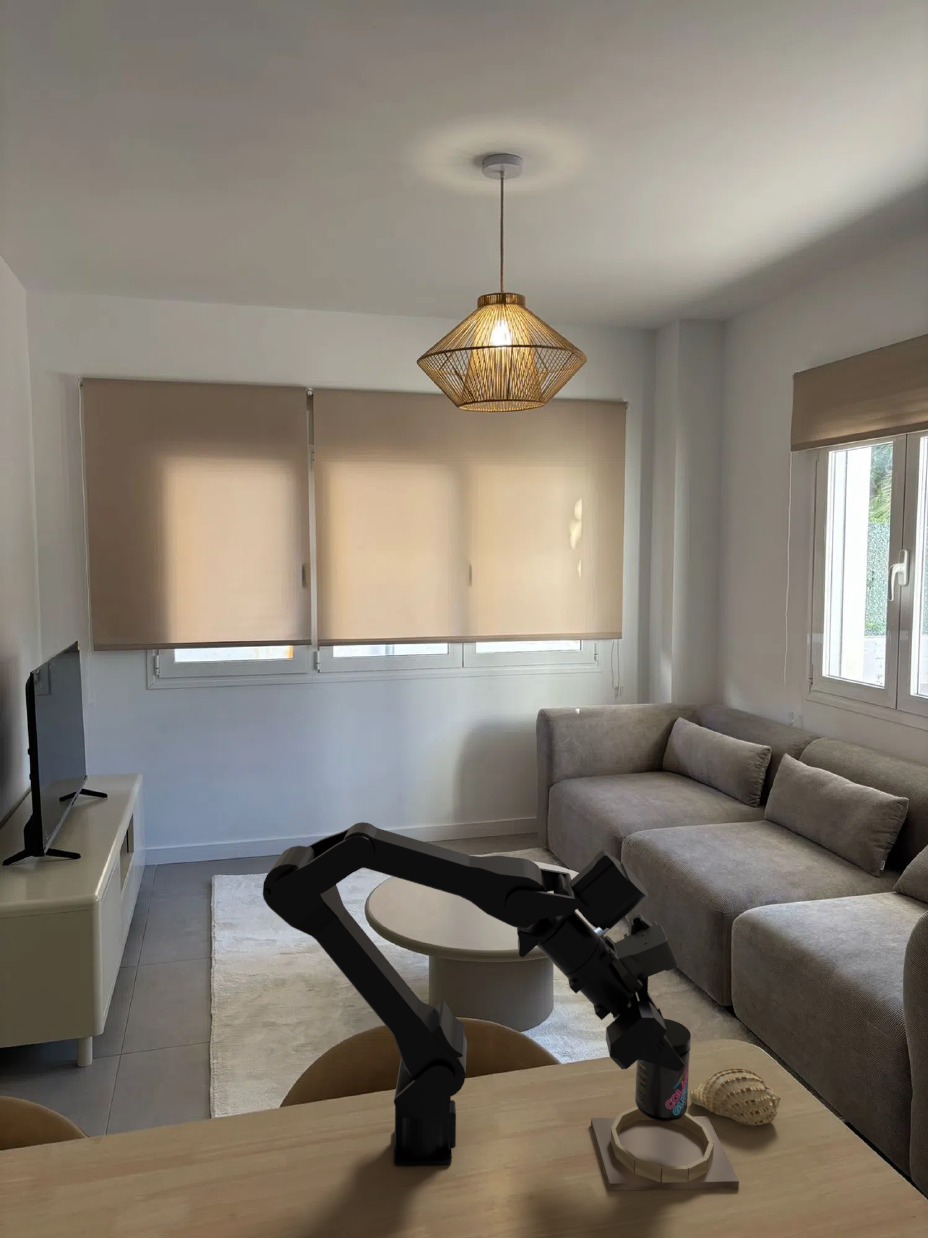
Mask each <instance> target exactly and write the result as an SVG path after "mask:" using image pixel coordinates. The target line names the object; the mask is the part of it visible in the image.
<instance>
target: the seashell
mask: <svg viewBox="0 0 928 1238" xmlns="http://www.w3.org/2000/svg"><path fill="white" fill-rule="evenodd" d="M763 1079H764V1078H762V1077H760V1076H759V1075H757V1074H756V1073H755V1072H754V1071H752V1070H751V1071H750V1070H748V1069H743V1068H729V1069H724V1070H721V1071H718V1072H716V1073H714V1074H712V1075H711V1076H710V1077H709V1078H708V1079H706V1080H705V1081H702V1083H700V1084H699V1086H698V1087H696V1088H695V1089H693V1090H690V1094H689V1095H690V1102H692V1103H693V1104H695V1105H696V1106H697V1105H698V1106H700V1107H703V1108H705V1109H707V1110H708V1111H710V1113H713V1114H716V1115H718V1116H721V1117H726V1118H728V1119H729V1118H730V1119H731V1120H732V1121H733V1120H734V1122H738V1123H740V1124H742V1125H744V1126H748V1127H749V1126H750V1127H751V1126H752V1127H755V1126H763V1125H767V1124H770V1123H772V1122H773V1121H774V1120H775V1118H776V1117H777V1116H778V1114H777V1113H778V1111H777V1110H778V1108H779V1106H780V1104H779V1103H780V1101H781V1097H779V1096H778V1095H777V1093H776V1092H774V1089H773V1088H771V1087H770V1086H768V1085H766V1083H765V1081H764V1080H763Z"/></svg>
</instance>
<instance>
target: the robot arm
mask: <svg viewBox="0 0 928 1238" xmlns="http://www.w3.org/2000/svg"><path fill="white" fill-rule="evenodd" d="M361 869H367V870H370V871H373V872H377V873H380V874H384V875H386V876H390V877H392V878H393V877H394V878H397V879H400V880H405V881H408V882H410V883H414V884H417V885H421V886H423V887H424V886H425V887H427V888H431V889H434V890H437V891H440V892H444V893H448V894H451V895H454V896H457V897H460V898H463V899H465V900H467V901H468V902H470V903H472V904H473V905H474V906H476V908H478V909H480V910H481V911H482V912H483V913H485V914H487V915H488V916H490V917H492V918H494V919H496V920H498V921H500V922H502V923H504V924H506V925H508V926H510V927H514V928H516V933H517V936H518V938H517V950H518V951H517V952H518V956H519V957H520V958H525V957H526V956H527V955H528V954H529V953H530V952H531V951H533V950H534V949H535V948H536V947H537V948H538V949H539V950H540V952H542V953H543V954H544V955H545V956H546V958H547V959H548V960H550V962H552V963H553V964H554V966H555V967H557V969H559V971H560V972H561V973H562V974H563V976H565V977H566V978H567V979H568V980H567V981H568V984H569V985H568V986H569V988H570V989H571V991H573V992H574V994H576V995H577V994H578V993H579V992H581V994H583V996H585V998H587V999H586V1000H588V1001H589V1002H590V1003H591V1004H592V1006H593V1009H594V1012H595V1013H594V1014H595V1015H596V1017H598V1018H599V1020H601V1021H603V1020H604V1019H605V1018H607V1017H608V1015H610V1014H611V1015H612V1017H613V1019H614V1020H613V1021H612V1022H610V1024H608V1025H607V1026H606V1029H605V1042H606V1046H607V1050H608V1054H609V1058H610V1059H612V1061H613V1062H614V1063H615V1064H616V1065H617V1066H618V1067H619V1068H620V1069H621V1070H628V1069H629V1068H630V1067H631V1066H632V1065H633V1064H635V1063H637V1060H642V1061H646V1062H649V1063H652V1064H655V1065H659V1066H662V1067H665V1068H668V1069H671V1070H674V1071H677V1072H678V1071H680V1070H681V1069H682V1068H683V1067H684V1066H685V1065H684V1062H683V1061H682V1059H681V1058H680V1056H679V1055H678V1053H677V1052H676V1050H675V1049H674V1048H673V1046H672V1045H671V1043H670V1042H669V1040H668V1039H667V1037H666V1036H665V1033H666V1031H667V1030H666V1027H665V1024H664V1019H665V1018H664V1015H663V1014H662V1011H661V1008H660V1007H659V1008H658V1006H657V1005H656V1003H655V1001H654V1000H653V998H652V997H651V995H650V993H649V977H651V976H655V975H656V974H659V973H661V972H664V971H667V972H668V971H671V970H673V969H675V968H676V967H677V966H678V964H679V963H678V960H677V957H676V955H675V952H674V951H673V948H672V946H671V944H670V941H669V939H668V937H667V935H666V933H665V930H664V928H663V926H662V925H661V924H658V923H657V921H654V922H652V923H651V922H650V921H649V920H648V919H647V918H646V917H644V916H643V915H642V914H637V915H635V916H632V917H629V919H628V931H627V933H624V934H623V938H622V939H620V940H619V941H616V942H615V941H614V940H612V938H611V937H610V936H608V935H606V936H605V935H604V934H603V933H602V934H601V935H600V936H599V934H598V933H597V932H596V931H595V930H594V929H593V928H595V929H598V928H599V929H600V930H601V931H605V930H607V929H608V930H611V929H613V928H614V927H615V926H616V925H617V924H619V922H621V920H623V919H624V918H625V917H626V916H627V915H629V913H631V912H632V911H633V910H634V909H635V908H636V907H637V906H638V905H639V904H640V903H642V902H643V901H644V900H646V898H648V896H649V894H648V891H647V890H646V888H645V887H644V885H643V884H642V883H641V881H640V880H639V878H638V877H637V876H636V875H635V874H634V873H633V871H632V870H631V869H630V868H629V867H628V866H627V865H626V864H625V863H624V862H623V861H622V862H621V861H620V860H618V859H617V858H616V857H614V856H613V855H610V853H609V852H608V851H607V850H606V849H601V850H600V851H599V852H598V853H596V855H595V856H593V859H592V860H590V863H588V864H587V865H586V866H585V867H584V868H583V869H582V870H581V871H580V872H578V873H577V874H576V875H575V876H574V877H573V878H572V876H571V874H570V873H569V872H565V871H560V870H554V869H553V870H552V869H548V868H547V869H546V868H542V867H539V865H538V864H537V863H536V862H534V861H532V860H529V859H526V858H522V857H514V856H506V855H486V856H478V855H477V856H476V855H470V854H465V853H463V852H459V851H455V850H453V849H449V848H446V847H442V846H439V845H436V844H432V843H428V842H426V841H423V840H419V839H415V838H412V837H409V836H405V835H402V834H400V833H396V832H392V831H388V830H385V829H383V828H378V827H377V826H375V825H373V824H372V823H370V822H364V821H363V822H362V821H361V822H358V823H357V822H356V823H355V824H353V825H352V826H350V827H349V828H347V829H345V830H342V831H340V832H337V833H334V834H331V835H329V836H326V837H323V838H321V839H319V840H317V841H315V842H313V843H312V844H309V845H308V846H306V845H305V846H304V845H295V846H291V847H288V848H287V849H286V850H284V851H283V852H282V853H281V854H280V855H279V856H278V858H277V859H276V861H275V863H274V864H273V866H272V867H271V868H270V869H269V872H268V873H267V875H266V877H265V879H264V880H263V887H262V896H263V900H264V902H265V904H266V905H267V907H268V908H270V910H271V911H273V912H274V913H275V915H277V916H278V917H279V918H281V920H283V922H285V924H287V925H289V926H290V927H291V928H293V929H295V930H298V931H299V932H301V933H304V934H306V935H309V936H310V937H312V938H313V939H314V940H315V941H316V942H317V943H318V944H319V945H320V946H321V948H322V950H323V951H325V953H326V955H327V956H328V957H329V958H330V959H331V960H332V962H334V964H335V965H336V966H337V968H338V969H339V970H340V971H341V973H342V974H343V975H344V976H345V978H346V979H347V980H348V982H349V983H350V984H351V985H352V986H353V987H354V988H355V990H356V991H357V992H358V994H359V995H360V996H361V997H362V999H363V1000H365V1003H367V1004H368V1006H369V1007H370V1008H371V1010H372V1011H373V1012H374V1013H375V1015H376V1016H377V1017H378V1018H379V1020H381V1022H382V1023H383V1024H384V1026H385V1027H386V1028H387V1029H388V1030H389V1031H390V1033H391V1034H392V1037H393V1038H394V1041H395V1043H396V1046H397V1049H398V1051H399V1054H400V1062H399V1069H398V1075H397V1081H396V1087H395V1091H394V1097H393V1098H394V1099H393V1104H394V1137H393V1155H392V1163H393V1165H394V1166H432V1165H434V1166H435V1165H437V1166H438V1165H439V1166H440V1165H442V1166H443V1165H450V1164H451V1163H452V1161H453V1160H452V1158H453V1157H452V1156H453V1155H452V1154H453V1153H452V1149H455V1147H456V1143H457V1142H456V1140H457V1138H456V1136H457V1109H456V1107H457V1106H456V1101H455V1100H454V1099H451V1098H452V1097H453V1096H455V1095H457V1094H458V1093H459V1092H460V1090H461V1089H462V1088H463V1086H464V1084H465V1082H466V1081H465V1079H466V1073H467V1072H466V1069H467V1068H466V1067H467V1048H468V1047H467V1046H468V1042H467V1041H468V1040H467V1037H466V1035H465V1023H464V1022H463V1021H461V1020H459V1019H458V1018H457V1017H456V1016H455V1015H454V1014H453V1012H452V1011H451V1009H450V1007H449V1006H448V1004H447V1003H446V1002H445V1000H440V1002H439V1003H438V1004H437V1005H436V1006H435V1007H434V1006H432V1005H430V1004H428V1003H426V1002H424V1001H422V1000H421V999H420V998H419V997H418V996H417V995H416V994H415V992H414V991H413V990H412V988H411V987H410V986H409V985H408V984H407V982H406V981H405V980H404V979H403V978H402V976H401V975H400V974H399V973H398V971H397V970H396V969H395V968H394V966H393V965H392V964H391V962H389V960H388V959H387V958H386V956H385V955H384V954H383V953H382V952H381V950H380V949H379V948H378V947H377V945H376V944H375V943H374V942H373V941H372V940H371V938H370V937H369V935H368V934H367V932H365V931H364V929H363V928H362V927H361V926H360V924H359V923H358V922H357V921H356V919H354V917H353V916H352V914H351V913H350V912H349V911H348V910H347V909H346V907H345V905H344V903H343V900H342V898H341V894H340V891H339V888H338V884H339V883H340V882H342V881H343V880H345V878H348V877H349V876H350V875H351V874H353V873H356V872H357V871H360V870H361ZM577 911H578V912H579V913H580V914H581V915H579V914H578V912H577ZM581 916H583V917H581ZM583 918H584V919H585V920H586V921H587V922H588V923H589V924H590V925H589V924H588V923H587V922H586V921H585V920H584V919H583ZM591 926H592V927H593V928H592V927H591ZM663 1018H664V1019H663Z"/></svg>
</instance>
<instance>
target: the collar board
mask: <svg viewBox="0 0 928 1238" xmlns="http://www.w3.org/2000/svg"><path fill="white" fill-rule="evenodd" d="M590 1126H591V1129H592V1132H593V1137H594V1141H595V1144H596V1147H597V1150H598V1154H599V1158H600V1161H601V1165H602V1168H603V1172H604V1176H605V1180H606V1182H607V1186H608V1189H609V1191H613V1192H614V1191H654V1190H655V1191H657V1190H660V1191H664V1190H665V1191H666V1190H667V1191H668V1190H705V1189H706V1190H708V1189H709V1190H711V1189H713V1190H714V1189H715V1190H716V1189H740V1180H739V1178H738V1176H737V1174H736V1172H735V1170H734V1168H733V1166H732V1164H731V1162H730V1160H729V1158H728V1155H727V1154H726V1151H725V1150H724V1148H723V1144H721V1142H720V1139H719V1137H718V1135H717V1133H716V1130H714V1127H713V1125H712V1123H711V1121H710V1118H709V1117H708V1116H707V1115H705V1116H700V1115H699V1116H696V1115H695V1116H692V1115H691V1114H689V1113H688V1112H686V1113H685V1114H684V1116H683V1117H681V1118H680V1119H678V1120H676V1121H672V1122H661V1121H656V1120H653V1119H650V1118H648V1117H647V1116H645V1115H644V1114H643V1113H642V1112H641V1111H640V1110H639V1109H638V1107H637V1105H635V1106H633V1107H631V1108H629V1109H626V1110H623V1111H622V1112H620V1113H618V1114H617V1115H616V1117H591V1118H590Z"/></svg>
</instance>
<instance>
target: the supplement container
mask: <svg viewBox="0 0 928 1238" xmlns="http://www.w3.org/2000/svg"><path fill="white" fill-rule="evenodd" d="M663 1019H664V1024H665V1027H666V1030H667V1031H666V1033H665V1036H666V1037H667V1039H668V1040H669V1042H670V1043H671V1045H672V1046H673V1048H674V1049H675V1050H676V1052H677V1053H678V1055H679V1056H680V1058H681V1059H682V1061H683V1062H684V1065H685V1066H684V1067H683V1068H682V1069H681V1070H680V1071H678V1072H677V1071H674V1070H671V1069H668V1068H665V1067H662V1066H659V1065H655V1064H652V1063H649V1062H646V1061H642V1060H637V1061H636V1071H635V1093H634V1101H635V1106H637V1107H638V1109H639V1110H640V1111H641V1112H642V1113H643V1114H644V1115H645V1116H647V1117H648V1118H650V1119H653V1120H656V1121H661V1122H672V1121H676V1120H678V1119H680V1118H681V1117H683V1116H684V1114H685V1113H687V1109H688V1101H689V1100H688V1098H689V1097H688V1096H689V1095H688V1094H689V1079H690V1078H689V1077H690V1075H689V1074H690V1055H691V1054H690V1053H691V1039H692V1038H691V1037H692V1035H691V1031H690V1030H689V1029H688V1028H687V1026H685V1025H684V1024H682V1023H680V1022H679V1021H676V1020H673V1019H669V1018H664V1017H663Z"/></svg>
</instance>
